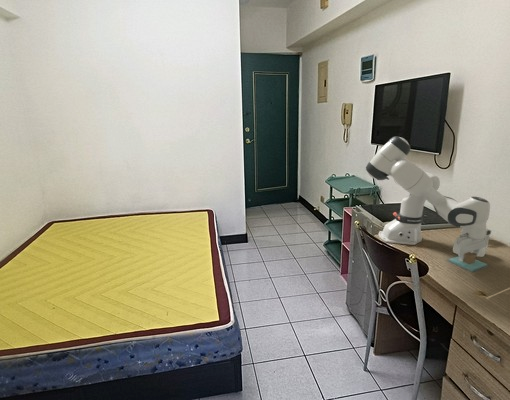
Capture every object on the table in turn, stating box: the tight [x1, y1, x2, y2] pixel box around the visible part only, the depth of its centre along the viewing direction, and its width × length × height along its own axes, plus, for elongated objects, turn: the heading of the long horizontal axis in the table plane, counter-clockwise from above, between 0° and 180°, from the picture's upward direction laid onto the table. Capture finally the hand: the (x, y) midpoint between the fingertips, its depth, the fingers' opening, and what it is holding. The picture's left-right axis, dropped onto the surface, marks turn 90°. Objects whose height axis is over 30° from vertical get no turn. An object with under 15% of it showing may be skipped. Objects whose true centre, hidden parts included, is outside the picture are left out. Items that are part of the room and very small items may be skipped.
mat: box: [445, 258, 490, 274], centre depth 153 cm, size 13×13×1 cm
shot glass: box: [470, 243, 489, 258], centre depth 161 cm, size 7×7×7 cm
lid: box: [448, 252, 488, 272], centre depth 153 cm, size 11×11×5 cm
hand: (467, 258), depth 152 cm, fingers open, 8 cm apart
